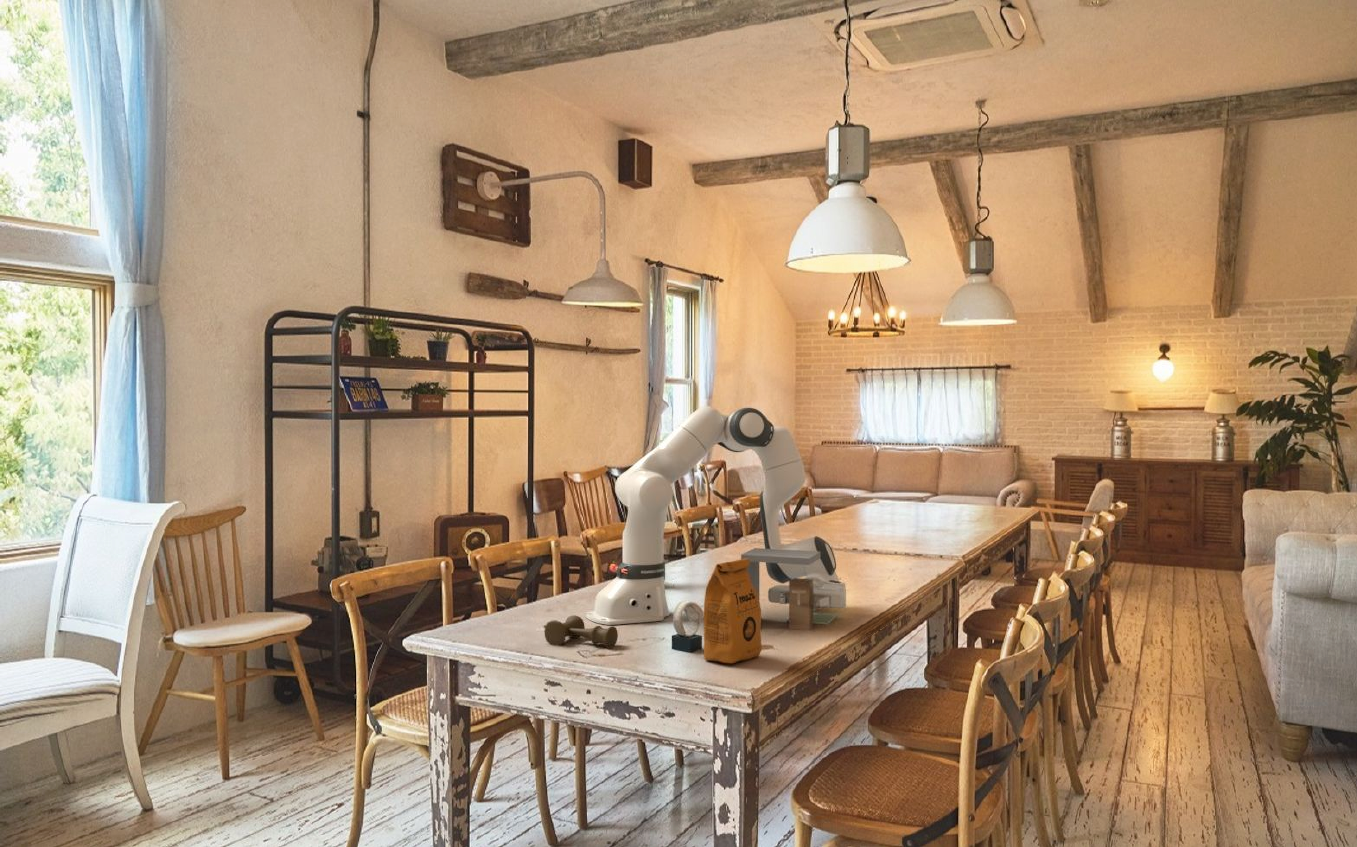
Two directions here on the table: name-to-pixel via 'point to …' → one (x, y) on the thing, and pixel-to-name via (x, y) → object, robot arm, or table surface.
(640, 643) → the table surface
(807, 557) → the awning
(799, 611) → the letter block
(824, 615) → the mat
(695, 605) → the white ring on block
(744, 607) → the coffee package
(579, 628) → the kendama
